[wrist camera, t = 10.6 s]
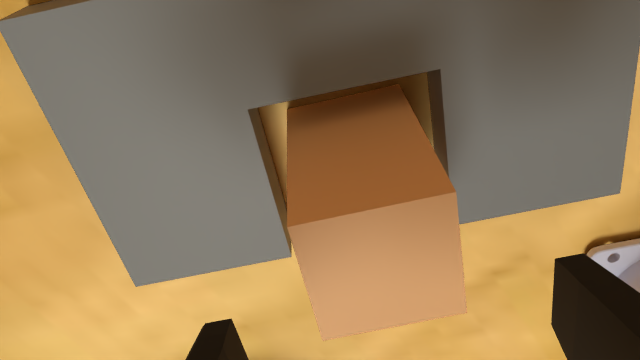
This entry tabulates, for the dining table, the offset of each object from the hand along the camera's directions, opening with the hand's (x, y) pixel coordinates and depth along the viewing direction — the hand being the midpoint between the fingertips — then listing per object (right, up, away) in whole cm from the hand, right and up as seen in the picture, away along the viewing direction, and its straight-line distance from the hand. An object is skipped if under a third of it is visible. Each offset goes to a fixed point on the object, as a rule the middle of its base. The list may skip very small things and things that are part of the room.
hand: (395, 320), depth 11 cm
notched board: (-1, +6, +6) cm, 9 cm away
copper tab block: (-1, +4, +7) cm, 9 cm away
